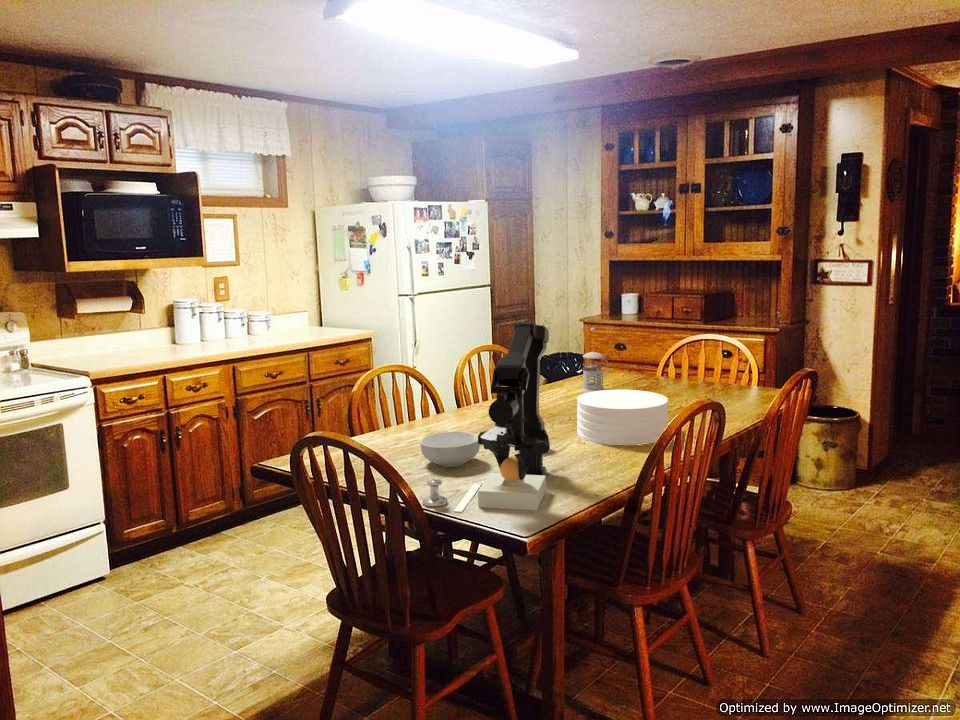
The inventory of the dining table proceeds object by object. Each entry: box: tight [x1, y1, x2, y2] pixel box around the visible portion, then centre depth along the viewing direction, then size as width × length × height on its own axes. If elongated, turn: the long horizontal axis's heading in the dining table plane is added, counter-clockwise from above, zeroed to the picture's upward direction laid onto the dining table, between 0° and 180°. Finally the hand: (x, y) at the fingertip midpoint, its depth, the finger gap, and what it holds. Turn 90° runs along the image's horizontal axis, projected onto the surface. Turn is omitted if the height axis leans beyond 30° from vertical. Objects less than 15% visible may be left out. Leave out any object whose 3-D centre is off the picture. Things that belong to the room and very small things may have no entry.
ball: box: [499, 456, 520, 482], centre depth 194 cm, size 6×6×6 cm
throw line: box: [453, 483, 482, 513], centre depth 197 cm, size 20×2×1 cm, turn 167°
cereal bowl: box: [420, 431, 481, 468], centre depth 226 cm, size 17×17×7 cm
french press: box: [580, 327, 610, 393], centre depth 317 cm, size 10×12×25 cm
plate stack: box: [576, 389, 669, 446], centre depth 252 cm, size 28×28×12 cm
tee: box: [421, 478, 448, 508], centre depth 193 cm, size 6×6×6 cm
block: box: [477, 472, 547, 511], centre depth 195 cm, size 14×14×4 cm
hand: (512, 477), depth 194 cm, fingers closed on ball, 6 cm apart
